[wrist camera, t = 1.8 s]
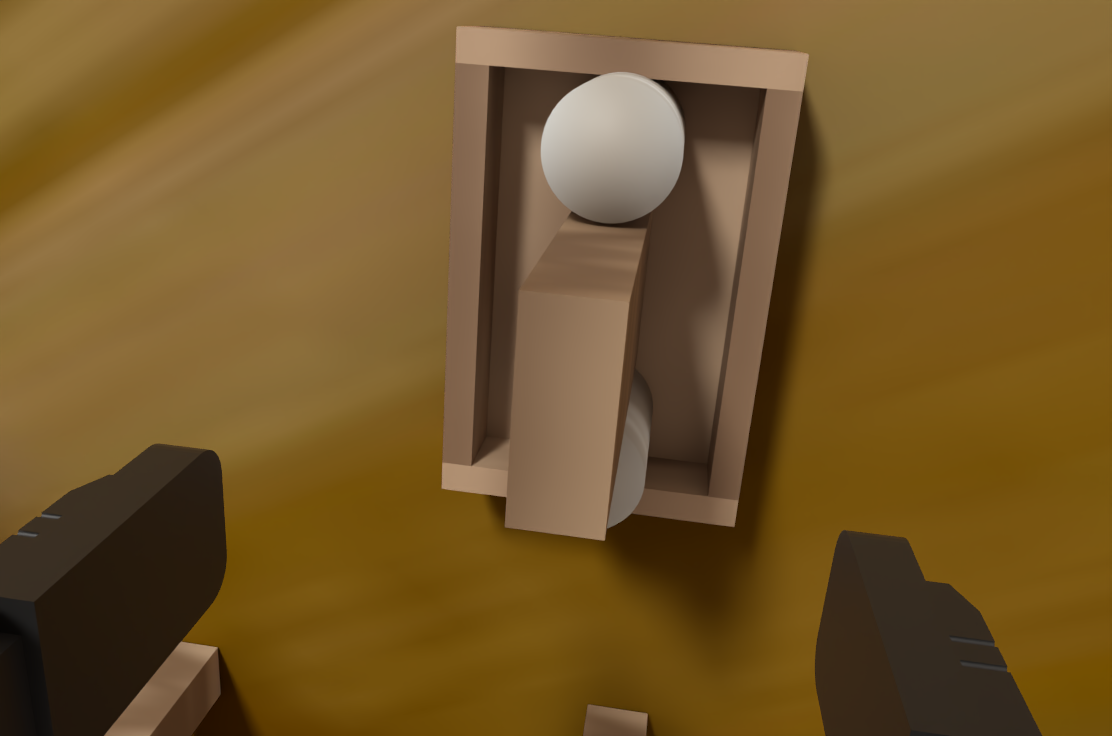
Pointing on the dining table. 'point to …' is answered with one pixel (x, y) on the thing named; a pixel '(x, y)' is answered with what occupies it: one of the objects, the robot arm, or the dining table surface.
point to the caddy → (611, 271)
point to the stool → (194, 686)
